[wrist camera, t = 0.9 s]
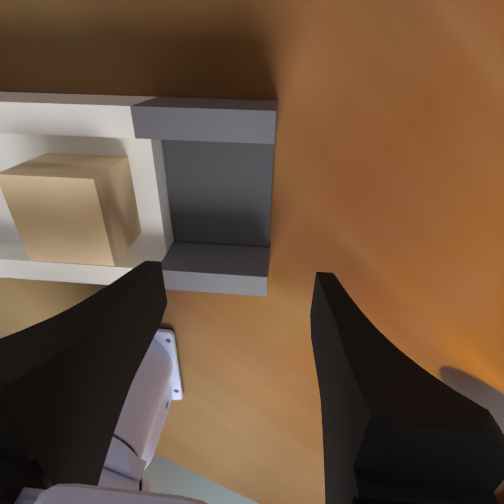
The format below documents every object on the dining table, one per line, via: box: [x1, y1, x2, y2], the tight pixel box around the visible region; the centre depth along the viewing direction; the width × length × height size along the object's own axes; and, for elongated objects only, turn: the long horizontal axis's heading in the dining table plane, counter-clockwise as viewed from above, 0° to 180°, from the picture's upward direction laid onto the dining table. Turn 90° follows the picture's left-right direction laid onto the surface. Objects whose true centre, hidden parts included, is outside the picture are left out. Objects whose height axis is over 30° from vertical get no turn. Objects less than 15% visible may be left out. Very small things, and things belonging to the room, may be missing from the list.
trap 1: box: [163, 140, 274, 246], centre depth 22 cm, size 8×7×1 cm
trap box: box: [0, 92, 278, 296], centre depth 21 cm, size 11×34×4 cm, turn 89°
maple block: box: [0, 153, 142, 266], centre depth 19 cm, size 5×5×4 cm
